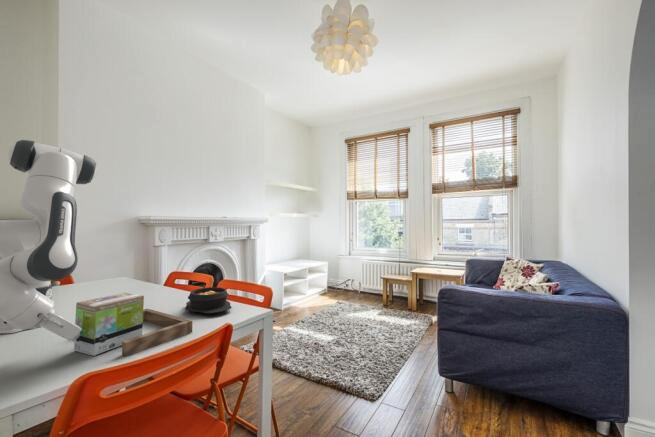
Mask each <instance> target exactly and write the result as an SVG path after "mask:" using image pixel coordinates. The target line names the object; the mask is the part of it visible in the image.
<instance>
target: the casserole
mask: <svg viewBox="0 0 655 437" xmlns="http://www.w3.org/2000/svg"><path fill="white" fill-rule="evenodd" d="M228 296H229V293H228V291H227V288H224V287H216V286H215V287H213V286H212V287H202V288H197V289H194V290H192V291H190V293H189V295H188V296H187V299H188V301H187V302H186V304H185V305H186V306H185V310H187V311H189V312H194V313H198V314H199V313H200V314H218V313H222V312H225V311H226V312H227V311H229V310H231V309H232V308H233V307H232V306H231V302H230V301H228V300H227V298H228Z"/></svg>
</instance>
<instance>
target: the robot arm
mask: <svg viewBox="0 0 655 437" xmlns="http://www.w3.org/2000/svg"><path fill="white" fill-rule="evenodd" d="M8 150H9V151H8V153H7V154H8V155H7V156H8V161H9V165H10V166H11V167H12V168H13V169H15V170H17V171H18V172H21V173H28V175H27V178H26V180H25V185H24V189H23V190H22V194H21V197H20V206H21V207H22V209H24V210H25V211H26V212H28V213H30V214H31V215H34V218H33V219H30V220H29V219H28V220H27V219H26V220H25V219H23V220H22V219H21V220H20V219H17V220H16V219H8V220H7V219H6V220H0V257H1V259H0V334H13V333H17V332H22V331H26V330H31V329H37V328H42V329H44V330H47V331H49V332H51V333H53V334H55V335H57V336H58V337H61V338H64V339H65V340H68V341H73V340H74V339H77V338H78V337H79V336H80V332H81V330H82V329H81V328H80V327H79V326H77V325H76V324H75V322H72V321H71V320H69V319H66V318H65V317H64V316H61V315H59V314H56V313H55V312H56V307H54V306H55V301H54V300H53V299H52V298H53V284H52V283H51V282H52V281H57V280H58V281H60V280H63V279H65V278H67V277H68V276H70V275H72V273H73V272H74V271H75V270H76V268H77V265H78V258H79V257H78V252H77V249H76V241H75V240H76V229H77V228H76V227H77V213H78V212H77V211H78V208H77V200H76V198H74V197H75V191H76V188H77V187H76V185H88V184H90V183H91V182H92V181H93V180H94V178H95V177H96V175H97V172H98V169H97V168H98V167H97V162H96V161H95V159H93V158H92V157H89V156H88V155H82V154H80V153H78V152H74V151H72V150H71V149H67V148H62V147H57V146H53V145H49V144H46V143H45V144H44V143H39V142H35V140H34V141H33V140H29V139H21V140H18V141H16V142H15V143H14V144H13V145H12V146H11V147H10V148H9V149H8Z"/></svg>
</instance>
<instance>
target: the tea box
mask: <svg viewBox="0 0 655 437" xmlns="http://www.w3.org/2000/svg"><path fill="white" fill-rule="evenodd" d="M144 300H145V295H143V294H142V295H141V294H137V293H136V294H135V293H131V292H130V293H129V292H122V293H117V294H111V295H106V296H102V297H98V298H93V299H88V300H83V301H78V302H76V305H75V320H74V324H76V325H77V326H79V327H80V328H81V329H82V330H81V332H80V336H79V337H78V338H77V339H73V340H74V341H73V350H74V351H76V352H78V353H81V354H85V355H89V356H91V357H95V356H97V355H100V354H102V353H104V352H107V351H110V350H113V349H115V348H118V347H122V341H125V340H128V339H131V338H134V337H137V336H140V335H143V327H144V325H143V324H144V321H143V309H144V307H145V306H144V304H145V303H144V302H145V301H144Z"/></svg>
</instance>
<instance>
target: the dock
mask: <svg viewBox="0 0 655 437" xmlns="http://www.w3.org/2000/svg"><path fill="white" fill-rule="evenodd" d="M143 322H148V323H152V324H154V325H158V326H161V327H163V328H160V329H157V330H154V331H150V332H147V333H144V334H142V335H140V336H137V337H134V338H131V339H128V340H125V341H122V345H121V356H124V357H126V358H127V356H130V355H133V354H134V355H135V354H136V353H139V352H142V351H145V350H147V349H150V348H153V347H155V346H158V345H160V344H164V343H167V342H169V341H171V340H174V339H177V338H181V337H183V336H185V335H189V334H191V333H193V323H194V322H193V320H191V319H187V318H183V317H181V316H180V317H179V316H176V315H174V314H169V313H165V312H161V311H159V310H154V309H150V308H143Z"/></svg>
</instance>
